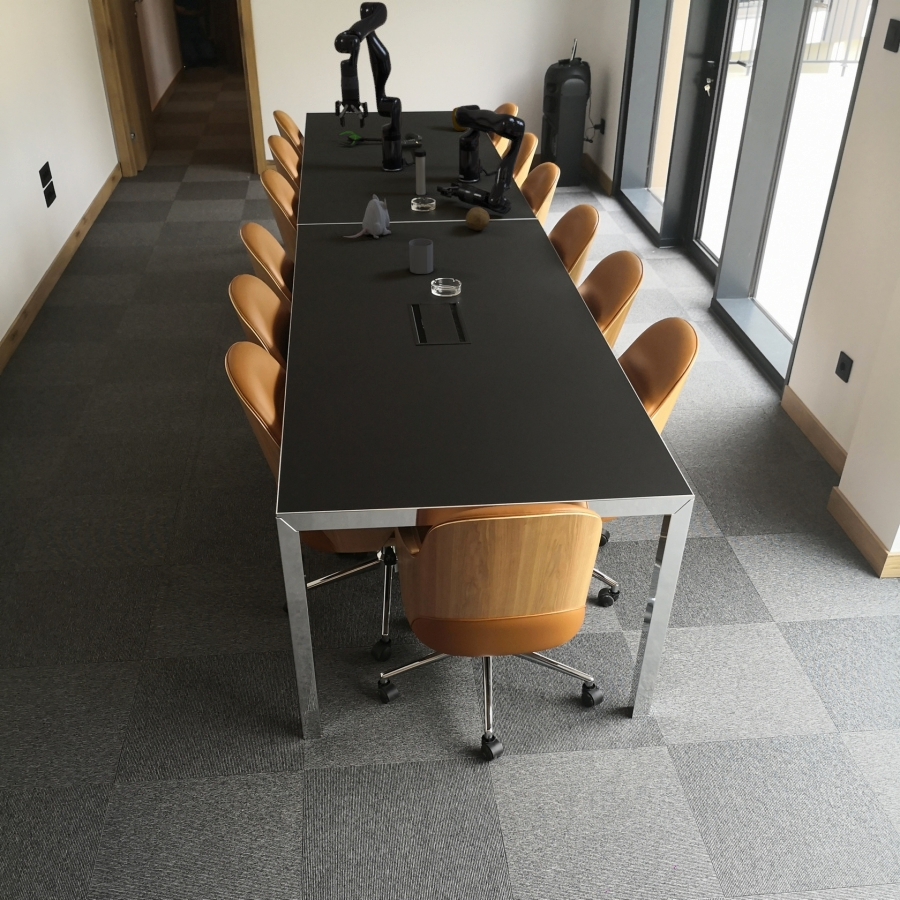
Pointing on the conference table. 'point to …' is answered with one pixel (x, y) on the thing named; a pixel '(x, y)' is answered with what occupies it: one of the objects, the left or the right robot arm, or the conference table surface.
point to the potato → (477, 218)
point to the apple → (456, 122)
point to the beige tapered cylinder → (420, 176)
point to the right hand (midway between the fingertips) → (444, 186)
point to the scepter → (357, 139)
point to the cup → (421, 256)
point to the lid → (420, 153)
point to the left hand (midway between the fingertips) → (352, 127)
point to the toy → (375, 219)
